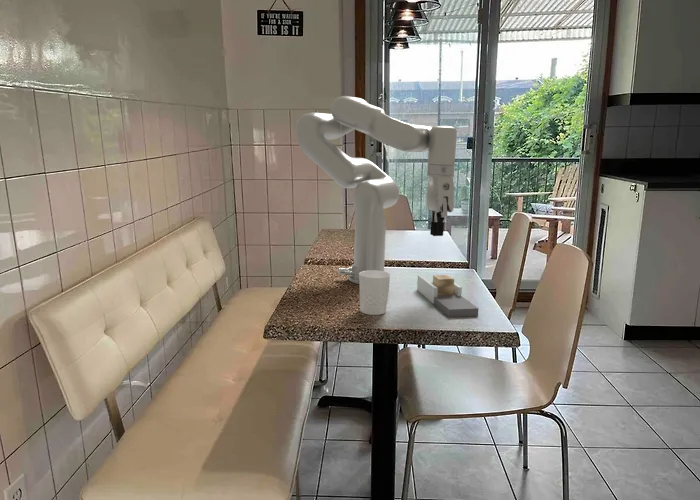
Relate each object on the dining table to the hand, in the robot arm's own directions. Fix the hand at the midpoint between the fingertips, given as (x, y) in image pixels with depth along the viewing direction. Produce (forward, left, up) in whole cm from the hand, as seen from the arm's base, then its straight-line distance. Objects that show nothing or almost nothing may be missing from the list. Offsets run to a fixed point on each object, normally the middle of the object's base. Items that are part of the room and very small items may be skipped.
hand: (436, 235), depth 155 cm
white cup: (-22, -15, -17) cm, 32 cm away
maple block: (0, -7, -15) cm, 17 cm away
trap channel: (0, -10, -17) cm, 20 cm away
